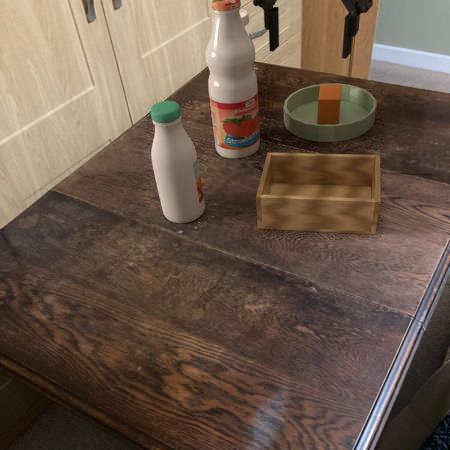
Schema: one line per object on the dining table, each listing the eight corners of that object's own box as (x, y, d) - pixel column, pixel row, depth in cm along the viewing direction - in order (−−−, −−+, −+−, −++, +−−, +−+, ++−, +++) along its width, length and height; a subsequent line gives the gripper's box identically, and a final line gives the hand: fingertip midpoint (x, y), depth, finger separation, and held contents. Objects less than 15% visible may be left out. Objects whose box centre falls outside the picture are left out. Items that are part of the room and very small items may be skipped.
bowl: (373, 100, 112) (376, 83, 109) (373, 144, 100) (376, 126, 97) (289, 100, 116) (289, 83, 113) (279, 143, 103) (278, 125, 101)
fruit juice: (242, 132, 108) (231, -14, 88) (269, 148, 102) (265, -4, 82) (207, 148, 105) (187, 1, 84) (233, 166, 99) (219, 12, 79)
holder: (375, 186, 90) (380, 154, 85) (375, 234, 81) (380, 202, 76) (268, 183, 94) (267, 152, 89) (257, 228, 85) (255, 196, 80)
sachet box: (339, 111, 109) (341, 84, 105) (338, 127, 105) (340, 99, 100) (319, 111, 110) (320, 84, 106) (316, 126, 106) (318, 99, 101)
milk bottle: (196, 227, 87) (177, 120, 72) (157, 221, 89) (131, 116, 75) (211, 201, 92) (196, 96, 77) (173, 196, 94) (152, 93, 79)
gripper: (227, -91, 75) (237, 53, 91) (392, -95, 66) (372, 67, 81) (248, -102, 79) (255, 38, 95) (406, -107, 70) (385, 49, 86)
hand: (309, 52), depth 88 cm, fingers open, 13 cm apart
